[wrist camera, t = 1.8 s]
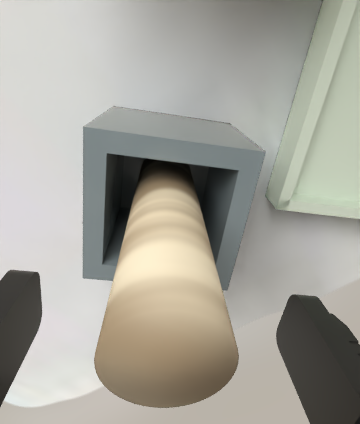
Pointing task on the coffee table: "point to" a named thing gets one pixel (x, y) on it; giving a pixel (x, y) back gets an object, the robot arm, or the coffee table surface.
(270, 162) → the coffee table surface
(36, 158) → the coffee table surface
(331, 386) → the robot arm
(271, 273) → the coffee table surface
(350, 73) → the tray
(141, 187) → the dowel
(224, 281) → the grey square box
